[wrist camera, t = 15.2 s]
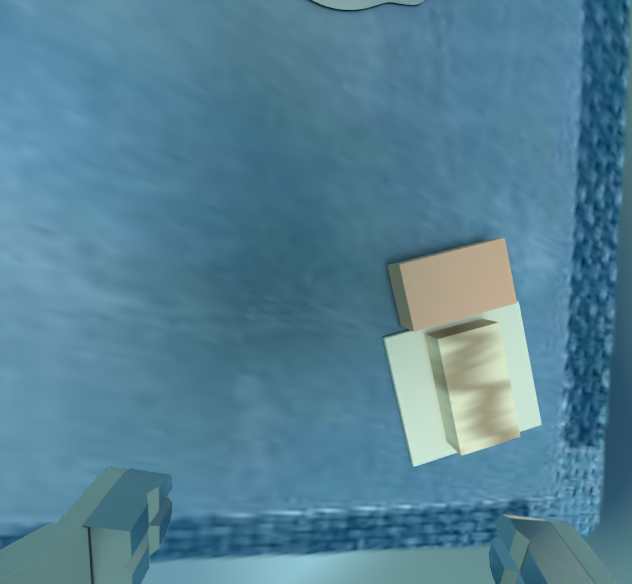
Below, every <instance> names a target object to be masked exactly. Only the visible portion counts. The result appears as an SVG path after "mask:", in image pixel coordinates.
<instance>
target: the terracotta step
mask: <svg viewBox="0 0 632 584" xmlns="http://www.w3.org/2000/svg"><path fill="white" fill-rule="evenodd" d="M387 266H388V271H389V275H390V280H391V284H392V289H393V293H394V298H395V302H396V307H397V311H398V316H399V320H400V325H401V327H404V328H406V329H409V330H411V331H413V332H415V331H419V330H422V329H426V328H430V327H433V326H437V325H440V324H444V323H447V322H451V321H455V320H458V319H462V318H465V317H469V316H472V315H476V314H480V313H483V312H487V311H490V310H494V309H497V308H501V307H505V306H508V305H512V304H515V303H517V300H516V295H515V290H514V284H513V279H512V274H511V268H510V263H509V258H508V252H507V247H506V241H505V238H499V239H492V240H485V241H480V242H476V243H472V244H468V245H464V246H460V247H456V248H453V249H449V250H445V251H441V252H437V253H433V254H429V255H425V256H421V257H417V258H413V259H409V260H405V261H401V262H397V263H393V264H389V265H387Z"/></svg>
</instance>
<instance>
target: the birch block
mask: <svg viewBox="0 0 632 584" xmlns="http://www.w3.org/2000/svg"><path fill="white" fill-rule="evenodd" d="M425 338H426V343H427V348H428V353H429V357H430V362H431V367H432V372H433V377H434V382H435V387H436V392H437V396H438V401H439V406H440V411H441V416H442V421H443V426H444V431H445V435H446V440H447V443H448V444H449V445H450V446H452V447H453V448H454V449H455V450H456V451H457V452H458V453H459V454H460V455H461V456H462V455H465V454H468V453H471V452H475V451H478V450H481V449H484V448H487V447H490V446H493V445H496V444H500V443H503V442H506V441H509V440H512V439H515V438H518V437H520V431H519V426H518V421H517V415H516V410H515V404H514V399H513V393H512V388H511V382H510V377H509V371H508V366H507V360H506V355H505V350H504V344H503V339H502V333H501V328H500V322H496V321H491V320H487V319H478V320H475V321H471V322H467V323H464V324H460V325H456V326H453V327H449V328H445V329H441V330H438V331H434V332H430V333H427V334H425Z"/></svg>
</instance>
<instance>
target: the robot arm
mask: <svg viewBox="0 0 632 584" xmlns="http://www.w3.org/2000/svg"><path fill="white" fill-rule="evenodd" d="M313 1H315V2H317V3H319V4H322V5H324V6H327V7H331V8H336V9H343V10H358V9H365V8H369V7H372V6H376V5H379V4H382V3H387V2H394V3H400V4H407V5H417V4H420V3H422V2H423V1H424V0H313ZM171 489H172V476H170V475H169V474H162V473H156V472H149V471H142V470H135V469H125V468H119V467H112V466H110V467H108V468H107V469H105V470H104V471H103V472H102V473H101V474H100V475H99V476H98V477H97V478H96V479H95V481H94V482H93V483H92V484H91V485H90V486H89V487H88V488H87V490H86V491H85V492H84V493H83V494H82V495H81V496H80V498H79V499H78V500H77V501H76V502H75V503H74V504H73V505H72V507H71V508H70V509H69V510H68V511H67V512H66V513H65V514H64V516H63V517H62V518H61V519H60V520H59V521H58V522H57V523H56V524H54V523H49V524H47V525H45V526H43V527H41V528H40V529H38V530H36V531H34V532H32V533H30V534H29V535H27V536H25V537H23V538H21V539H19V540H18V541H16V542H14V543H12V544H10V545H8V546H7V547H5V548H3V549H1V550H0V584H141V583H142V581H143V579H144V577H145V575H146V573H147V571H148V569H149V556H150V555H151V554H152V553H153V552H155V551H156V550H157V549H159V548H160V546H161V544H162V542H163V540H164V538H165V536H166V533H167V530H168V526H169V523H170V519H171V513H172V502H171V501H170V499H169V498H168V497H167V496H168V494H169V492H170V490H171ZM496 528H497V530H498V532H499V534H500V535H499V536H498V537H497V538H496V539H494V540H493V541H492V542H491V547H490V551H489V559H490V568H491V572H492V576H493V579H494V581H495V584H618V583H617V582H616V581H615V579H614V578H613V577H612V576H611V574H610V573H609V572H608V570H607V569H606V568H605V567H604V565H603V564H602V563H601V561H600V560H599V559H598V557H597V556H596V555H595V554H594V552H593V551H592V550H591V548H590V547H589V546H588V545H587V543H586V542H585V541H584V539H583V538H582V537H581V536H580V534H579V533H578V532H577V530H576V529H575V528H574V527H573V526H572V525H571V524H570V523H568V522H567V521H560V520H551V519H540V518H531V517H522V516H513V515H504V514H502V515H501V516H500V517H499V518H498V521H497V525H496Z"/></svg>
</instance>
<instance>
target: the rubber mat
mask: <svg viewBox="0 0 632 584" xmlns="http://www.w3.org/2000/svg"><path fill="white" fill-rule="evenodd" d="M478 319H487V320H491V321H496V322H500V328H501V333H502V339H503V344H504V350H505V355H506V360H507V366H508V371H509V377H510V382H511V388H512V393H513V399H514V404H515V410H516V415H517V421H518V426H519V431H520V432H521V431H524V430H527V429H530V428H533V427H536V426H539V425H542V424H541V419H540V413H539V408H538V403H537V397H536V392H535V387H534V381H533V376H532V371H531V365H530V360H529V354H528V349H527V344H526V338H525V333H524V328H523V322H522V317H521V312H520V306H519V301H517V303H515V304H512V305H508V306H505V307H501V308H497V309H494V310H490V311H487V312H483V313H480V314H476V315H472V316H469V317H465V318H462V319H458V320H455V321H451V322H447V323H444V324H440V325H437V326H433V327H430V328H426V329H422V330H419V331H415V332H413V331H411V330H407V331H403V332H400V333H396V334H393V335H389V336H385V337H382V338H383V342H384V346H385V351H386V355H387V360H388V364H389V368H390V373H391V377H392V382H393V386H394V390H395V395H396V399H397V404H398V408H399V412H400V417H401V421H402V425H403V430H404V434H405V439H406V443H407V447H408V452H409V456H410V461H411V464H412V465H413V467H415V466H418V465H421V464H424V463H427V462H430V461H433V460H436V459H439V458H442V457H445V456H448V455H451V454H454V453H457V451H456V450H455V449H454V448H453V447H452V446H450V445H449V444H448V443H447V440H446V435H445V431H444V426H443V421H442V416H441V411H440V406H439V401H438V396H437V392H436V387H435V382H434V377H433V372H432V367H431V362H430V357H429V353H428V348H427V343H426V338H425V334H427V333H430V332H434V331H438V330H441V329H445V328H449V327H453V326H456V325H460V324H464V323H467V322H471V321H475V320H478Z"/></svg>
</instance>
